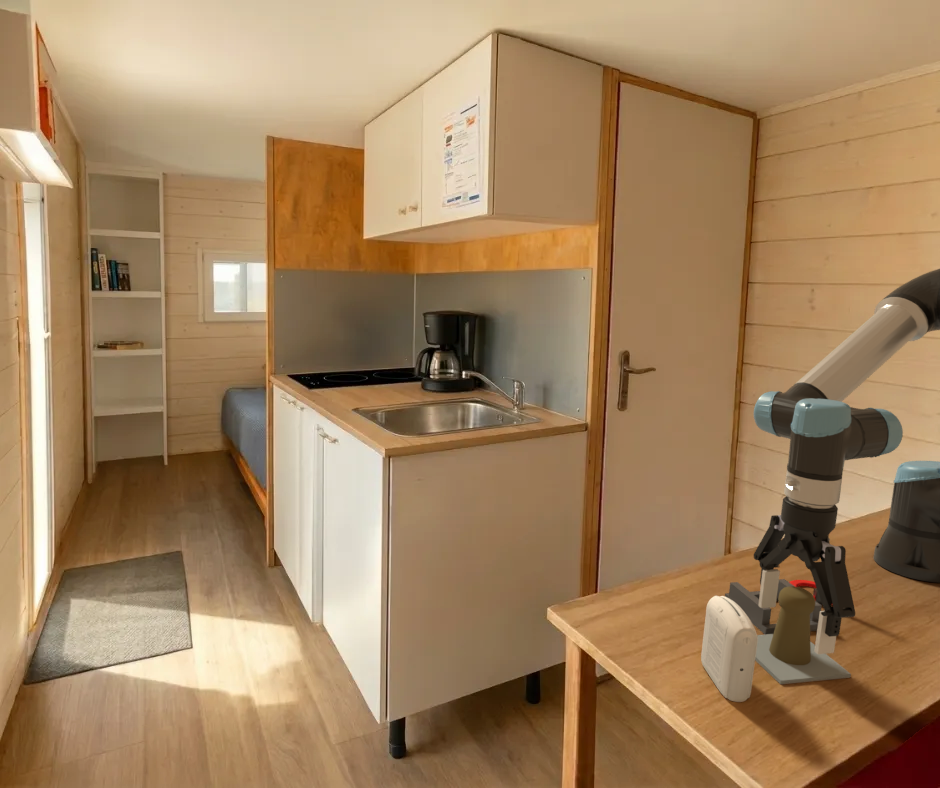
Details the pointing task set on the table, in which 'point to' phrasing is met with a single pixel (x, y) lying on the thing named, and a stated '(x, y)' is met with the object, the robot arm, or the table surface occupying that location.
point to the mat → (789, 673)
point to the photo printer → (729, 648)
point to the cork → (793, 626)
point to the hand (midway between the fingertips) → (793, 628)
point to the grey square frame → (762, 615)
